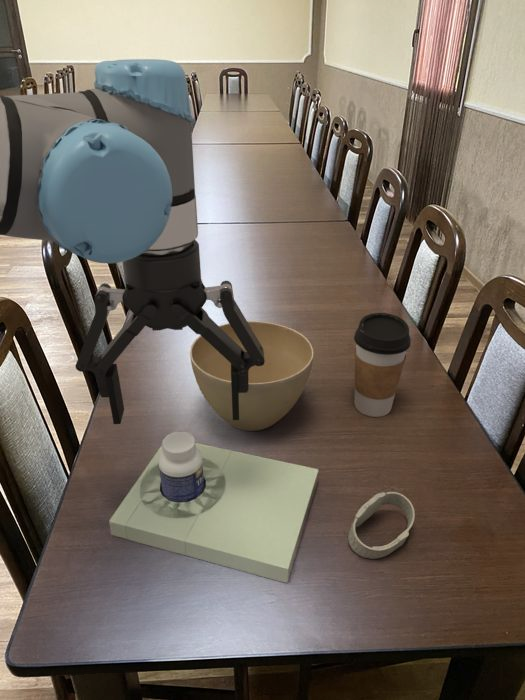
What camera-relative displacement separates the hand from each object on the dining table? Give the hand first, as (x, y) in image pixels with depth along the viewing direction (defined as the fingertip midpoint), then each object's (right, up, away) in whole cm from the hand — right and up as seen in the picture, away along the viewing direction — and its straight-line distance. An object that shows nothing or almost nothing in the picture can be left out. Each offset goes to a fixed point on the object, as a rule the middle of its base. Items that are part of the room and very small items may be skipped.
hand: (177, 415), depth 63 cm
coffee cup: (+28, -2, +24) cm, 37 cm away
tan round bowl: (+8, -3, +22) cm, 24 cm away
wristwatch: (+24, -15, +2) cm, 29 cm away
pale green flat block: (+4, -13, +6) cm, 15 cm away
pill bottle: (0, -12, +7) cm, 14 cm away
